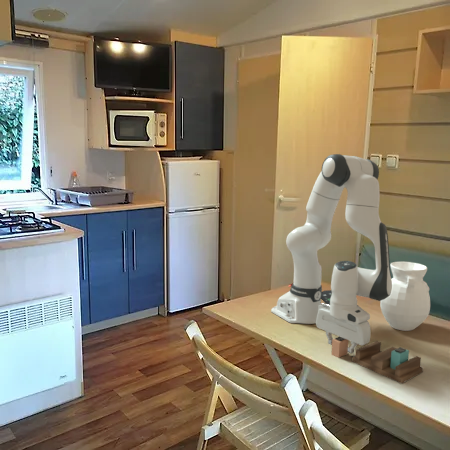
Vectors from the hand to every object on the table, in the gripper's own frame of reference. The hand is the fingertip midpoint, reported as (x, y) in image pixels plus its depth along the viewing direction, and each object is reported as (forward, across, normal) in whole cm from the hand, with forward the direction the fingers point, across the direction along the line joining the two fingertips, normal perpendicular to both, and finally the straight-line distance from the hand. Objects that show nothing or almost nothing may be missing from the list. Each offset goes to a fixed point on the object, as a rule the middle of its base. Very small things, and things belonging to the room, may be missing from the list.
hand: (340, 348), depth 160 cm
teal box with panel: (+1, +19, +5) cm, 20 cm away
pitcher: (+2, -1, +41) cm, 41 cm away
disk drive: (+3, -38, +44) cm, 58 cm away
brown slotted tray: (+2, +15, +5) cm, 16 cm away
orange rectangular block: (+2, 0, 0) cm, 2 cm away
